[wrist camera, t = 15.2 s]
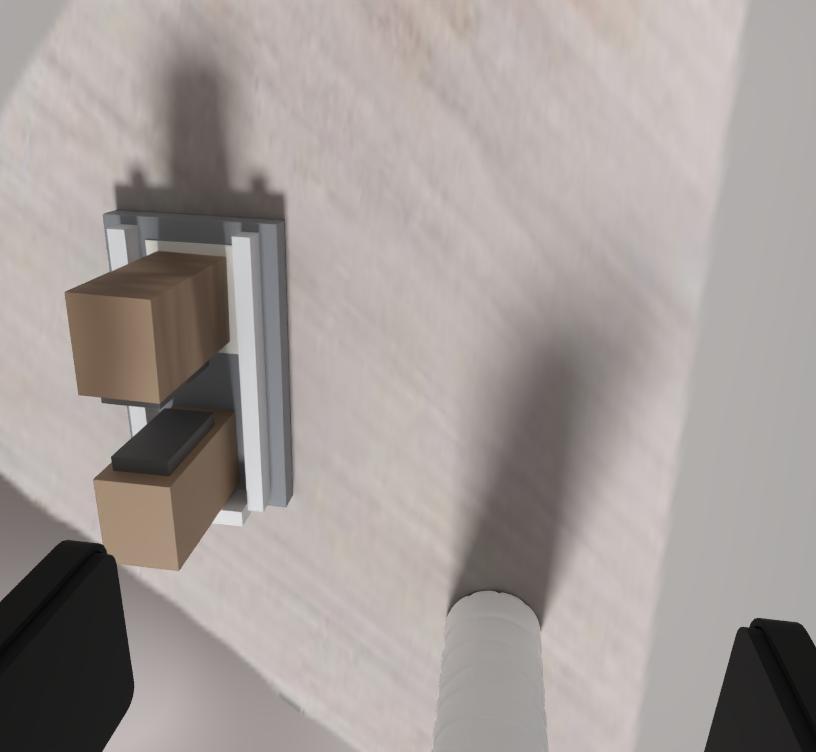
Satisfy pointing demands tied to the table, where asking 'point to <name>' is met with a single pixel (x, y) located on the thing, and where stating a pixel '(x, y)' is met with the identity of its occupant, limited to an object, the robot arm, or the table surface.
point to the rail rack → (205, 401)
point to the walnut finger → (148, 327)
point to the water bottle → (491, 678)
